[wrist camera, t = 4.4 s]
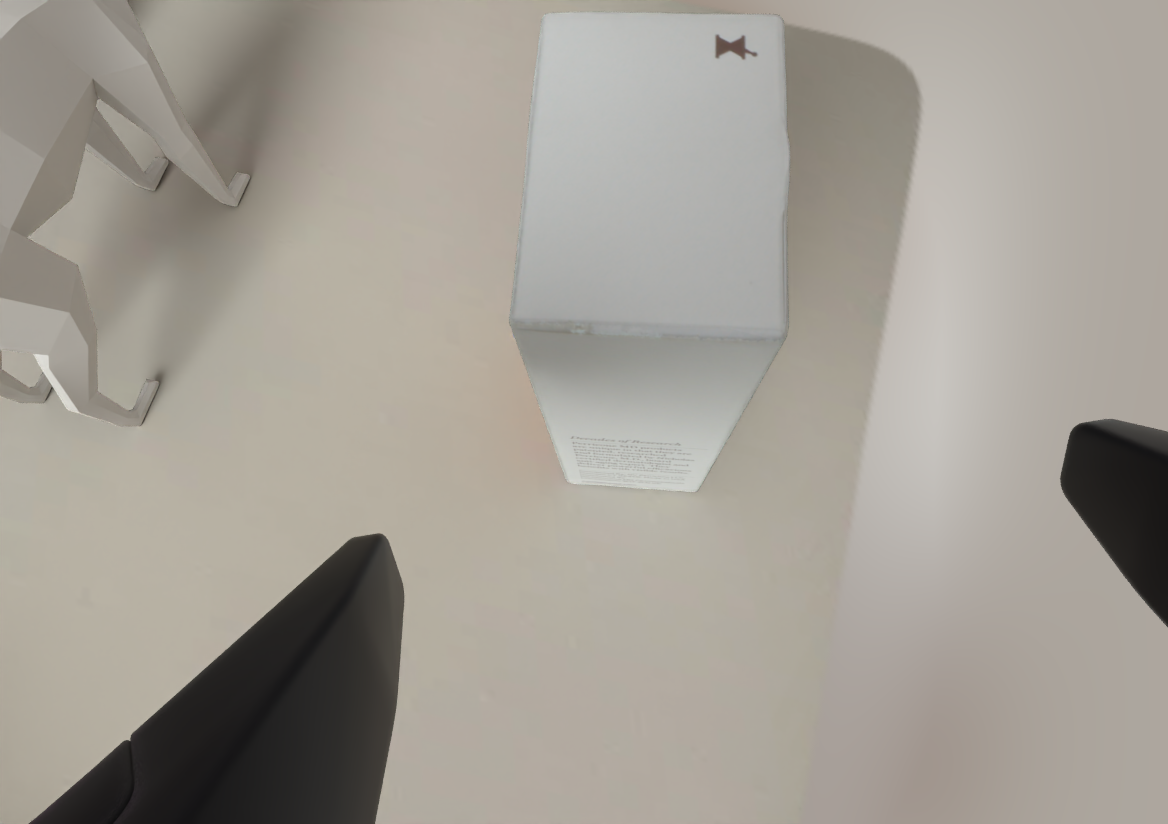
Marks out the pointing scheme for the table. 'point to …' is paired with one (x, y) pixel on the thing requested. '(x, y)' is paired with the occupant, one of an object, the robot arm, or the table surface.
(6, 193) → the cat figurine
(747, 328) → the cosmetic box
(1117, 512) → the robot arm
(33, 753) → the table surface
